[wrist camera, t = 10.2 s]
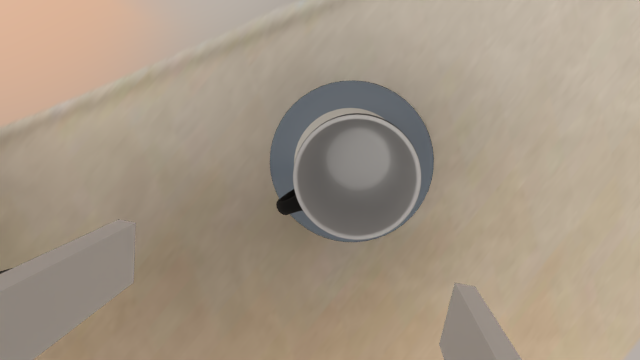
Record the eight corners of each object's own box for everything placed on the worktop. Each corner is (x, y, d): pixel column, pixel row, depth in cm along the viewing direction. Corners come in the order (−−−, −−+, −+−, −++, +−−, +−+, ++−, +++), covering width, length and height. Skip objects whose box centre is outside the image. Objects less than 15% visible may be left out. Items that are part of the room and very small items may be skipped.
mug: (379, 94, 33) (386, 88, 23) (421, 179, 34) (444, 208, 24) (269, 153, 35) (233, 170, 25) (312, 230, 36) (293, 276, 26)
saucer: (263, 222, 38) (260, 226, 37) (283, 69, 35) (281, 68, 33) (412, 252, 37) (413, 256, 36) (448, 95, 33) (451, 95, 32)
